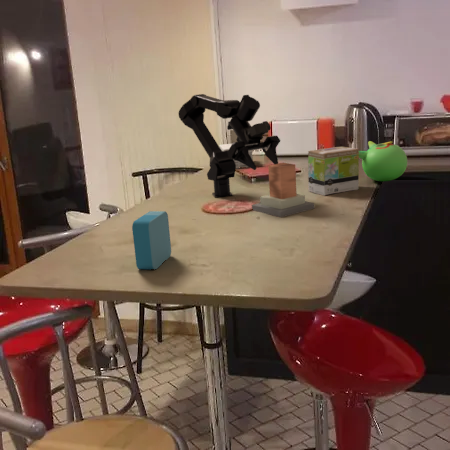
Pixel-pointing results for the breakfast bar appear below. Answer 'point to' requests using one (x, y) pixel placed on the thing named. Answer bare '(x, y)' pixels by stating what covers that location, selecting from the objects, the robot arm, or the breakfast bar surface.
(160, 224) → the data package
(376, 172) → the green rounded body
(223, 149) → the supplement box
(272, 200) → the sage top slab
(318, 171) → the tea box
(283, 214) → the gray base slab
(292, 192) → the terracotta block
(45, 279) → the breakfast bar surface
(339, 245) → the breakfast bar surface
